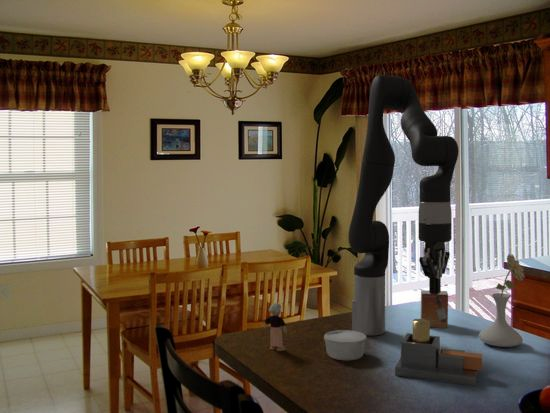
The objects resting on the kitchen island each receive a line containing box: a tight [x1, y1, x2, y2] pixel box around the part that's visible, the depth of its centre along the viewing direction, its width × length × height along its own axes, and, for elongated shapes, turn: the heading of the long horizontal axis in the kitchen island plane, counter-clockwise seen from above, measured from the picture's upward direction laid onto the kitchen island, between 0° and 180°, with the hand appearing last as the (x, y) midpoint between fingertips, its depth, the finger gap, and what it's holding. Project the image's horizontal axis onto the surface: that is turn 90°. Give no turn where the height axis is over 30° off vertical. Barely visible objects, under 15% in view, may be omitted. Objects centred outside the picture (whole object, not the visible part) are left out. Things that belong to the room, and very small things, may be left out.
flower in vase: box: [478, 253, 526, 348], centre depth 156 cm, size 13×11×25 cm
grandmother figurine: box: [262, 302, 288, 352], centre depth 154 cm, size 8×4×13 cm, turn 65°
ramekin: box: [323, 329, 368, 361], centre depth 149 cm, size 11×11×5 cm
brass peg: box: [412, 318, 431, 344], centre depth 137 cm, size 4×4×10 cm
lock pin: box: [440, 350, 483, 372], centre depth 133 cm, size 9×3×3 cm, turn 67°
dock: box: [394, 332, 479, 387], centre depth 136 cm, size 18×12×8 cm, turn 67°
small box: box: [419, 289, 449, 329], centre depth 175 cm, size 8×6×10 cm
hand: (434, 293), depth 134 cm, fingers closed
